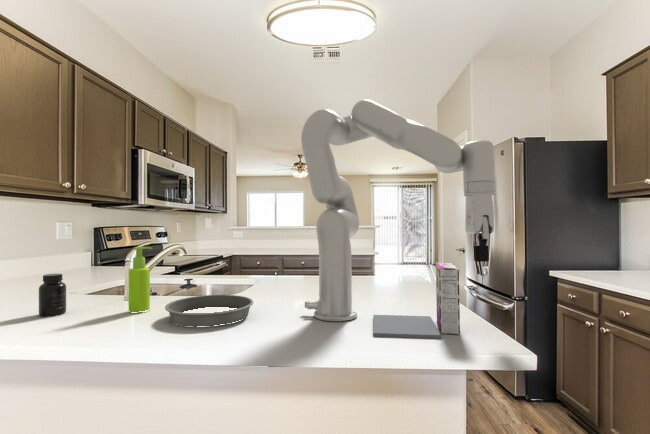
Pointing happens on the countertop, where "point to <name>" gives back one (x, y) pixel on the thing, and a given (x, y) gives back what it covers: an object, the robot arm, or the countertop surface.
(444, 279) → the candy bar box
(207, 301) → the baking ring
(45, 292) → the supplement bottle
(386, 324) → the mat
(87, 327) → the countertop surface
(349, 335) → the countertop surface
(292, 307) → the countertop surface
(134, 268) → the soap dispenser
